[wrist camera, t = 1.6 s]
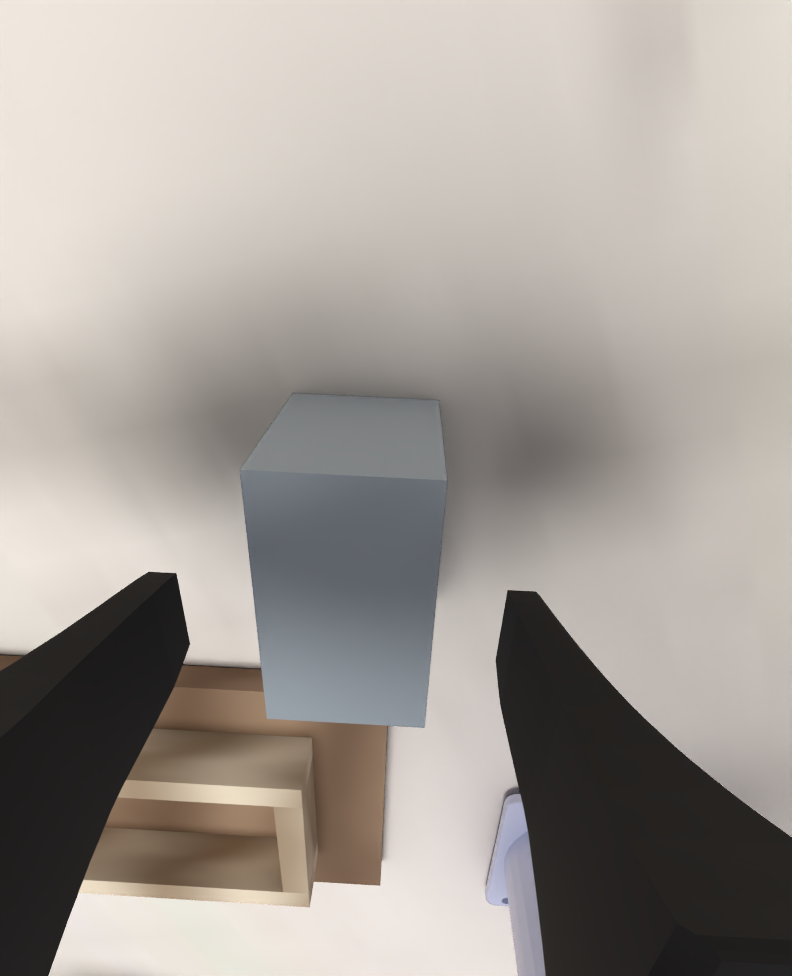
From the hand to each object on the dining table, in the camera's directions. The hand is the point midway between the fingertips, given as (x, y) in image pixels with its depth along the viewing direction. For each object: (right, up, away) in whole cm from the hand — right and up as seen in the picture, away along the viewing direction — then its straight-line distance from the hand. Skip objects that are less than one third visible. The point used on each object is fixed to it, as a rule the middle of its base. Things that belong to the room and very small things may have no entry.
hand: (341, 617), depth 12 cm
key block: (0, +2, +5) cm, 5 cm away
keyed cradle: (-7, -9, +11) cm, 16 cm away
